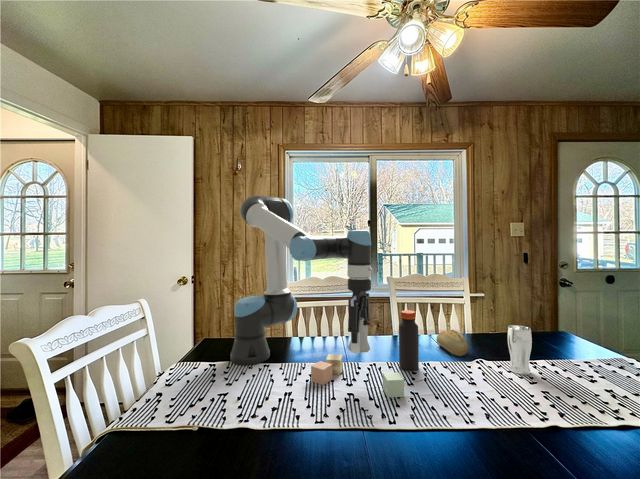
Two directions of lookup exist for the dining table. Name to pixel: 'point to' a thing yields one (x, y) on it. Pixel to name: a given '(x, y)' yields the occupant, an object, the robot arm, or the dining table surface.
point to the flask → (362, 339)
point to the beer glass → (519, 348)
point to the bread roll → (453, 342)
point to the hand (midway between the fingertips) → (359, 348)
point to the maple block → (335, 363)
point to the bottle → (408, 342)
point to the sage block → (393, 384)
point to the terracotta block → (321, 372)
